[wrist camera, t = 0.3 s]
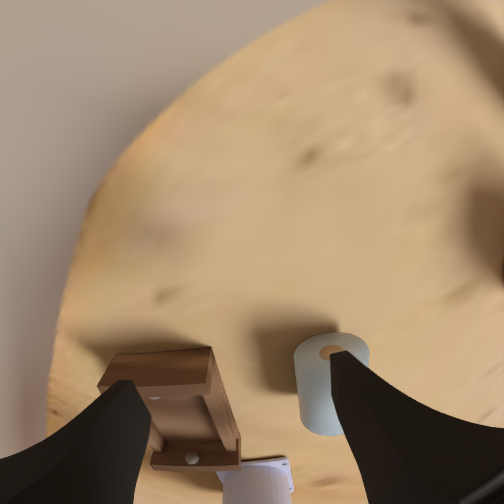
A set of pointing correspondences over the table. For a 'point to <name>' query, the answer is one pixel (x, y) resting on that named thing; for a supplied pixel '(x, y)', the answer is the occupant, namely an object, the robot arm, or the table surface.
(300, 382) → the roll
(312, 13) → the table surface
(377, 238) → the table surface
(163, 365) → the holder
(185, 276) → the table surface
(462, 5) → the table surface
